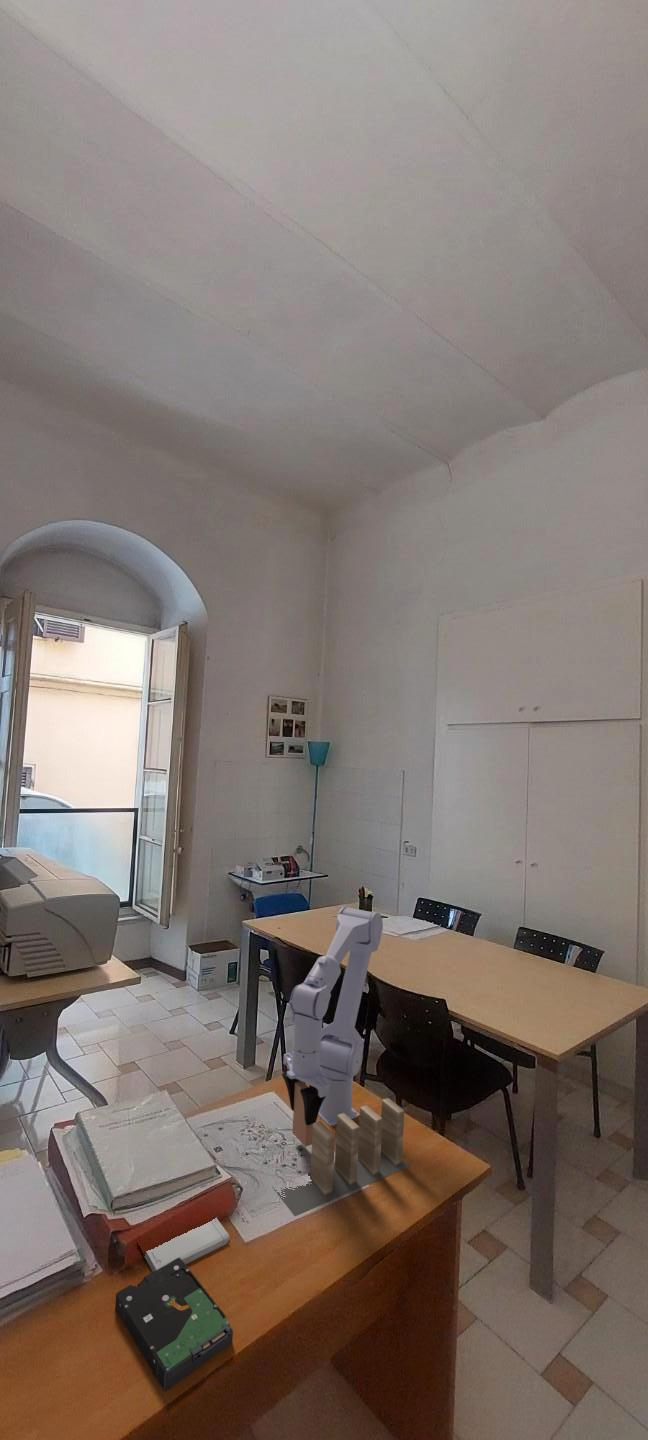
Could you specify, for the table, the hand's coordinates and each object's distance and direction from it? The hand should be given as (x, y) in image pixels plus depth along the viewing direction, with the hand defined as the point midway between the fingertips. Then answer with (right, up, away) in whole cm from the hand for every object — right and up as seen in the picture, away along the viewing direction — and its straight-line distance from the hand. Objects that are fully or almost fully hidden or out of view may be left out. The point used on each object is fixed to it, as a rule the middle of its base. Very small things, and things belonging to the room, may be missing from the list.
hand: (303, 1115), depth 124 cm
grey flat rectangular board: (+8, -7, -8) cm, 13 cm away
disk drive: (-17, -4, -39) cm, 43 cm away
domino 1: (0, -4, 0) cm, 4 cm away
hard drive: (-19, -5, -25) cm, 32 cm away
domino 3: (+8, -6, -8) cm, 13 cm away
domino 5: (+17, -7, -2) cm, 19 cm away
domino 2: (+4, -6, -11) cm, 13 cm away
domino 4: (+13, -7, -5) cm, 15 cm away
